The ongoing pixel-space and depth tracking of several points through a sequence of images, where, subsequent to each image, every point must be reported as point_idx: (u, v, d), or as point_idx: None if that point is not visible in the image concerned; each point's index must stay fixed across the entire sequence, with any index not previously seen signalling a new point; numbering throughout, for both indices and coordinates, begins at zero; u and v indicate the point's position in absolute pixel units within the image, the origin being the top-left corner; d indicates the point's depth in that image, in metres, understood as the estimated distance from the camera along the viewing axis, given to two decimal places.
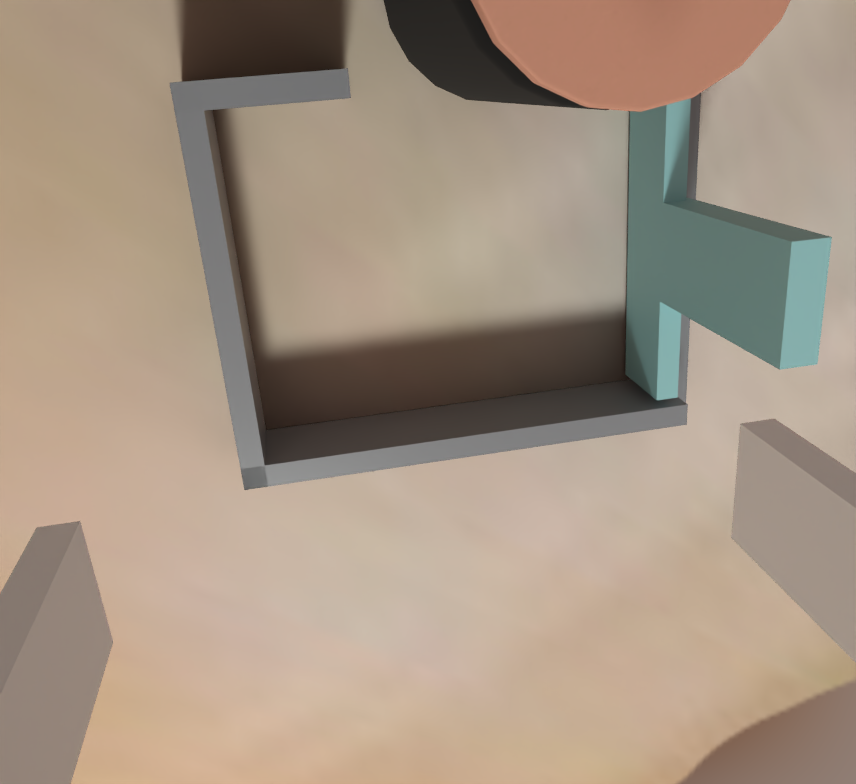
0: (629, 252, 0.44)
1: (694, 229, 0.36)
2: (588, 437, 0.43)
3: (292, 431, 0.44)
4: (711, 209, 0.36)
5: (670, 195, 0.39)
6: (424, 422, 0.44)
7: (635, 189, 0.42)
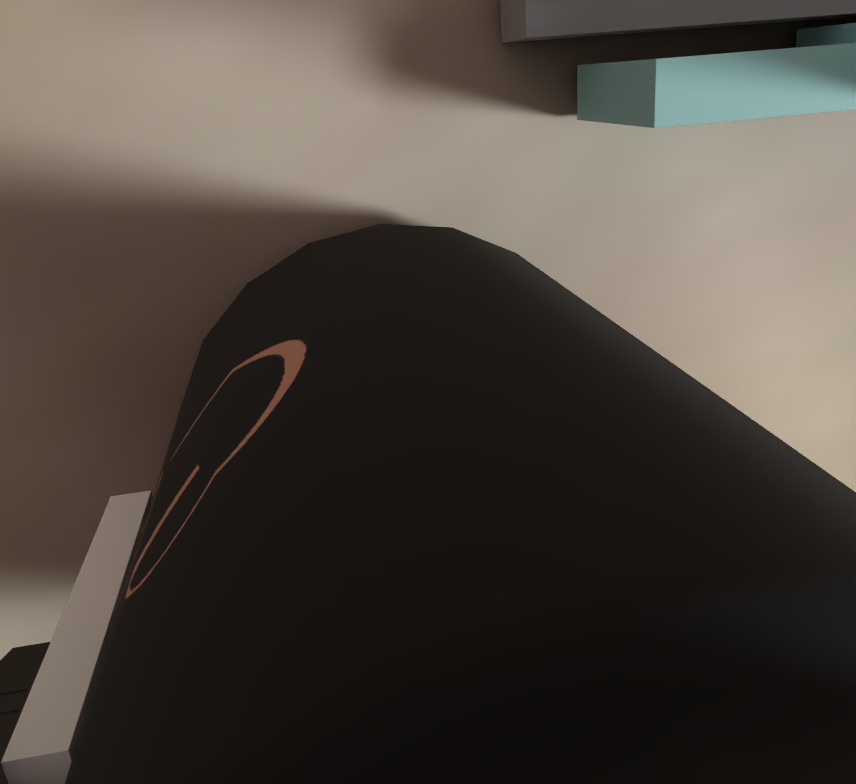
0: None
1: None
2: None
3: None
4: None
5: None
6: None
7: None
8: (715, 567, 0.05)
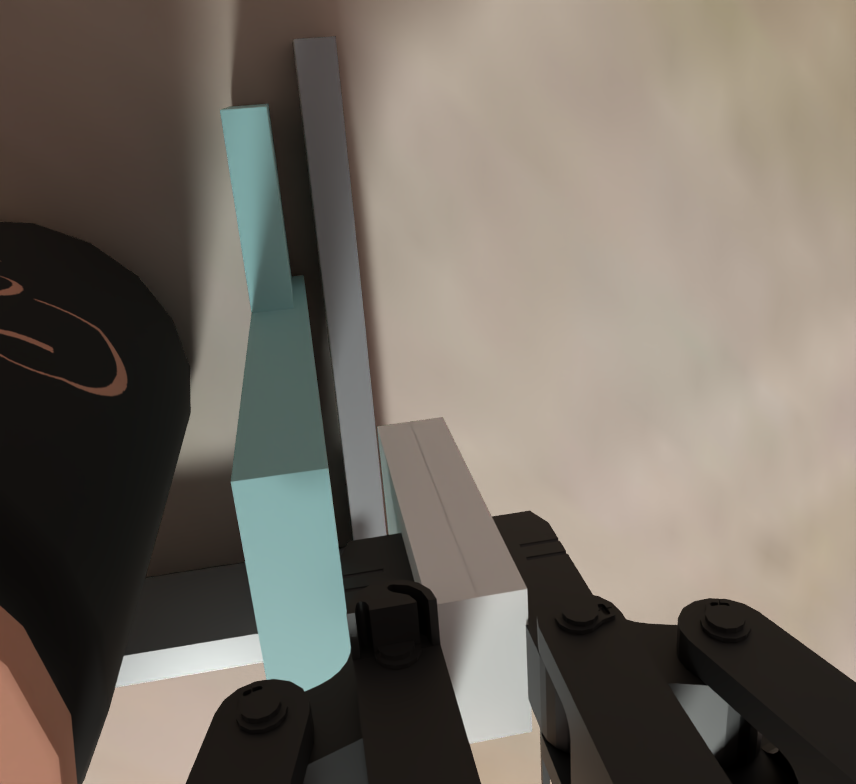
0: None
1: None
2: (201, 670, 0.27)
3: None
4: (285, 339, 0.20)
5: (262, 300, 0.23)
6: None
7: None
8: (105, 659, 0.14)
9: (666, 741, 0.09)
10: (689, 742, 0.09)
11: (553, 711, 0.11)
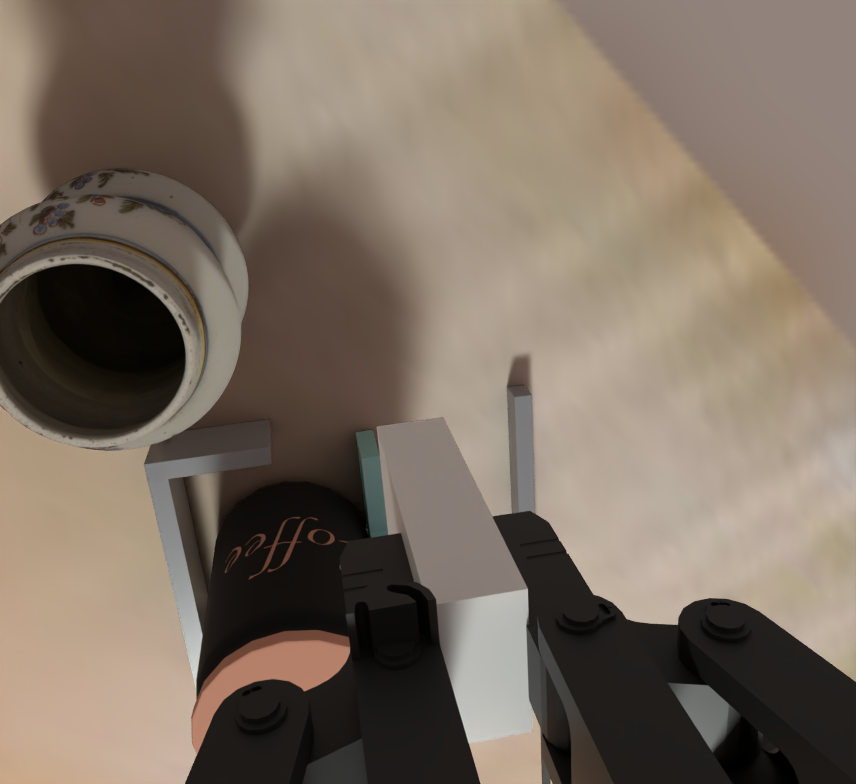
0: None
1: None
2: None
3: None
4: None
5: (374, 527, 0.53)
6: None
7: (364, 505, 0.56)
8: None
9: (667, 741, 0.09)
10: (690, 742, 0.09)
11: (554, 711, 0.11)
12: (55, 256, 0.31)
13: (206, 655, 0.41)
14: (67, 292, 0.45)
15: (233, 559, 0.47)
